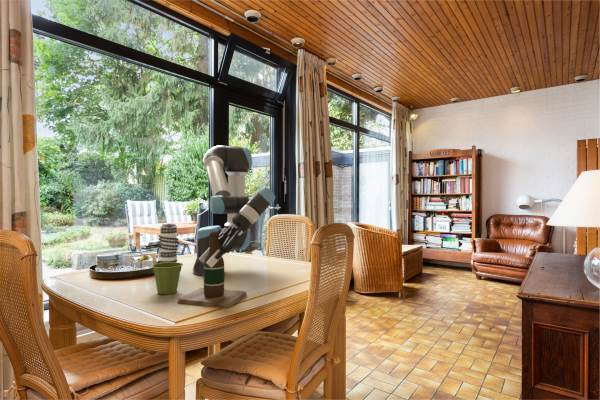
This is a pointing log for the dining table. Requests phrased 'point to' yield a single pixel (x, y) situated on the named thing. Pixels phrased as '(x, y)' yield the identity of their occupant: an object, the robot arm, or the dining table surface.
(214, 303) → the walnut board
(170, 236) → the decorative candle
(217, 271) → the beer bottle
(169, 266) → the plant pot
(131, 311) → the dining table surface
